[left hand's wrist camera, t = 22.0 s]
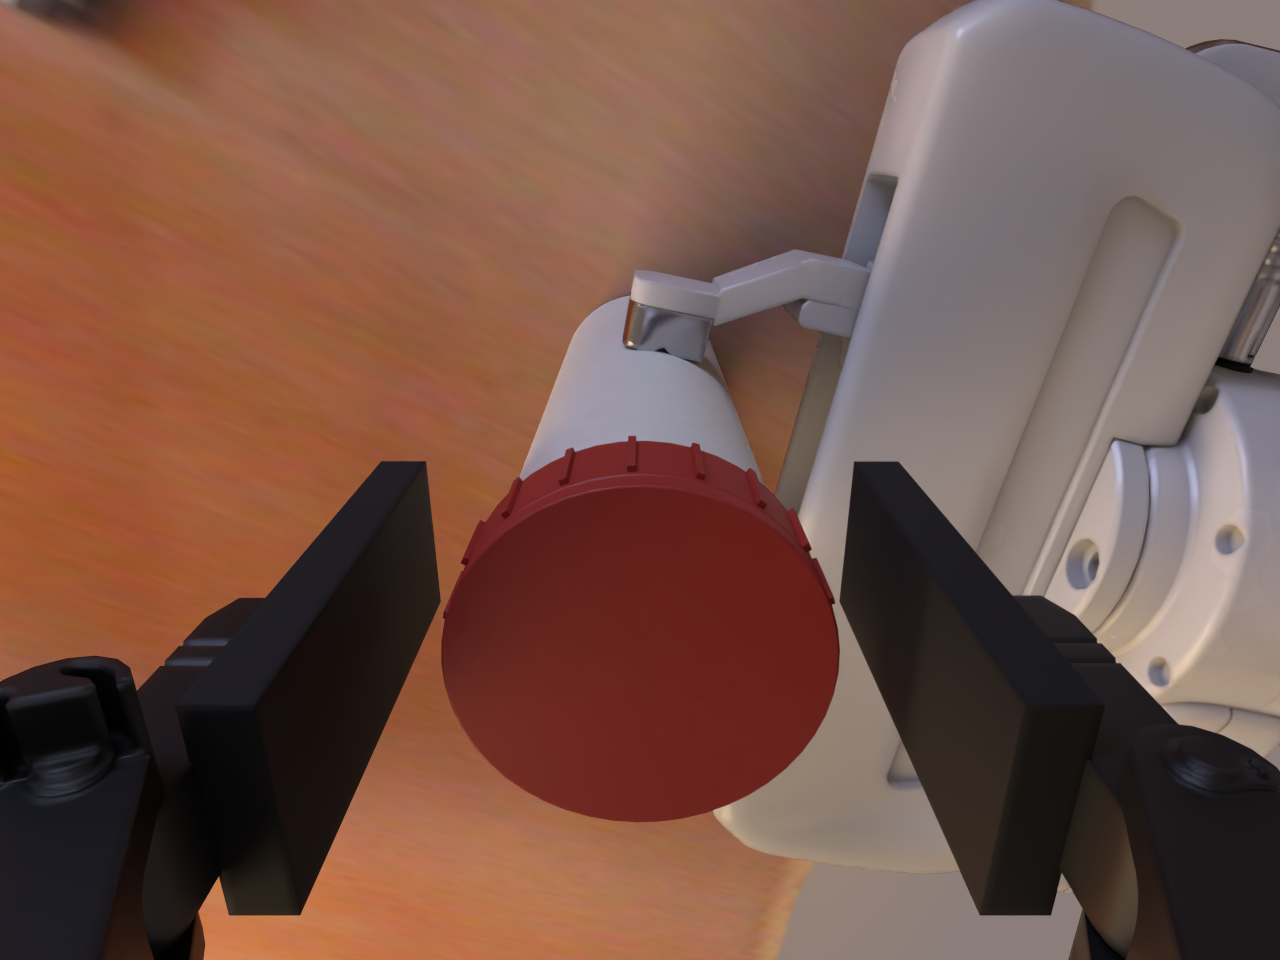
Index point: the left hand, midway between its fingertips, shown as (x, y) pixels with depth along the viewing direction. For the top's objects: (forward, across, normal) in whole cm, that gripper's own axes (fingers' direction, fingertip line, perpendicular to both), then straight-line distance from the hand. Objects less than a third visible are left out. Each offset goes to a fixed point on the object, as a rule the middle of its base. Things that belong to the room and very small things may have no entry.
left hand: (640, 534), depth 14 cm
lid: (-4, 0, 0) cm, 4 cm away
